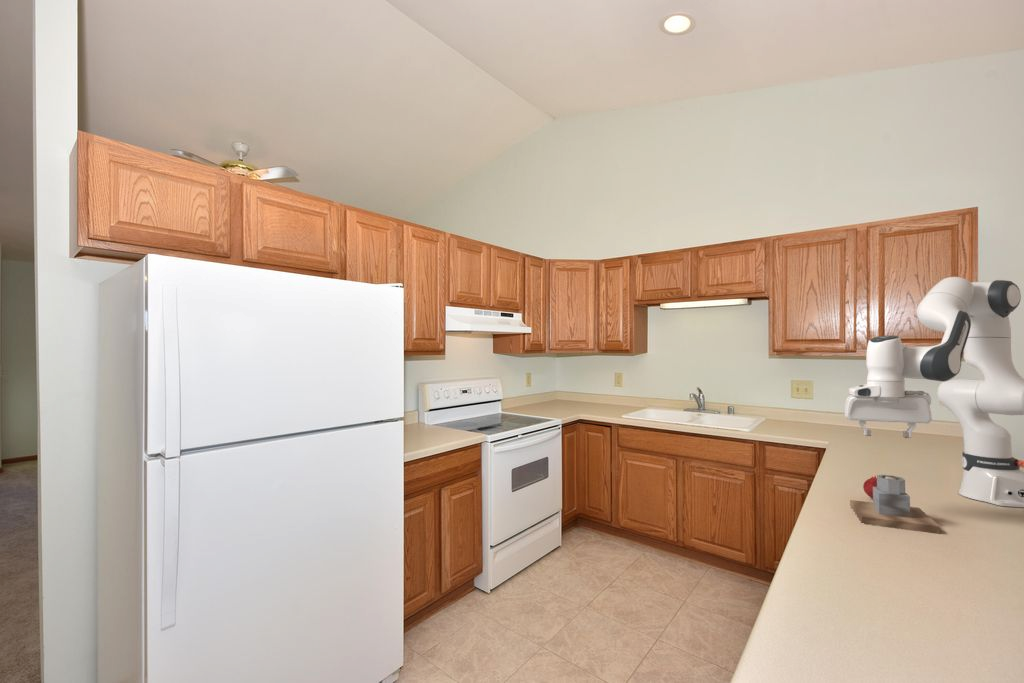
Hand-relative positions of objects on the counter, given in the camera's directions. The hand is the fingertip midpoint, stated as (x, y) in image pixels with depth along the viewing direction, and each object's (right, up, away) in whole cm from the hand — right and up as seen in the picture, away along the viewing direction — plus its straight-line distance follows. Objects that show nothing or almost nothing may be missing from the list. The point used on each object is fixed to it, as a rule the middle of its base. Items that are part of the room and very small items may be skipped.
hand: (886, 436), depth 138 cm
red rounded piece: (+8, -24, +15) cm, 29 cm away
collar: (-1, -16, -2) cm, 16 cm away
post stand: (-1, -24, -3) cm, 24 cm away
